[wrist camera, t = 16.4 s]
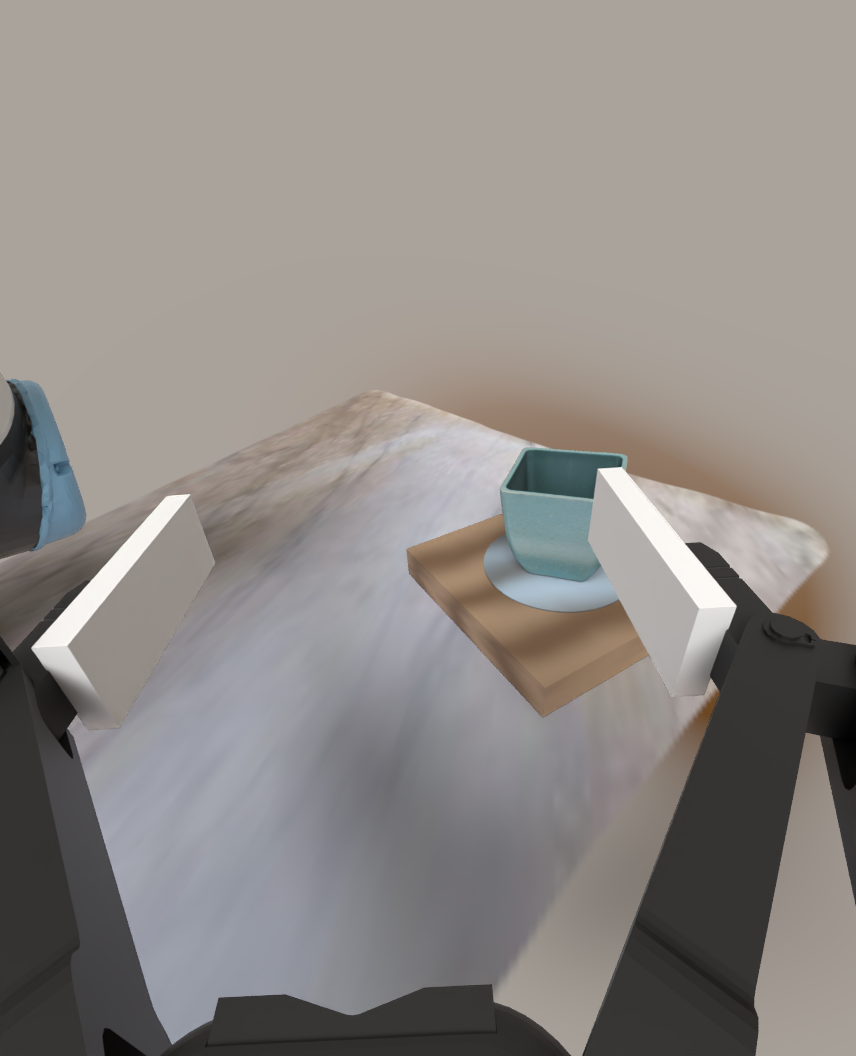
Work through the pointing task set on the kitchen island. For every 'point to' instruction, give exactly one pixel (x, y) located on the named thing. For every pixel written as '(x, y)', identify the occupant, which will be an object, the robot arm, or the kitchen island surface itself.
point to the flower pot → (553, 510)
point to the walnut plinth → (527, 615)
